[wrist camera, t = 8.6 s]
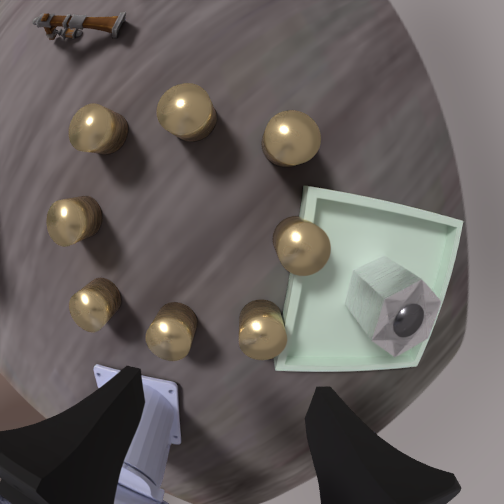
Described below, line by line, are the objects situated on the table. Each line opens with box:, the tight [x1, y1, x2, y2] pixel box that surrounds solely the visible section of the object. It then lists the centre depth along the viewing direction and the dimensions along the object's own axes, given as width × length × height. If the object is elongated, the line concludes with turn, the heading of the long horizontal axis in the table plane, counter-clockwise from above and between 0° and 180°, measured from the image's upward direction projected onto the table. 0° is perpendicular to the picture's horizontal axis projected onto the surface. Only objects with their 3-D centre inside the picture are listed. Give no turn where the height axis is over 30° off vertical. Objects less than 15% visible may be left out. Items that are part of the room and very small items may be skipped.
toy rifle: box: [33, 12, 126, 40], centre depth 12 cm, size 2×8×4 cm, turn 75°
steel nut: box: [345, 256, 442, 357], centre depth 16 cm, size 5×4×5 cm
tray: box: [274, 186, 463, 372], centre depth 18 cm, size 13×13×2 cm
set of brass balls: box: [47, 83, 331, 361], centre depth 16 cm, size 17×18×3 cm
